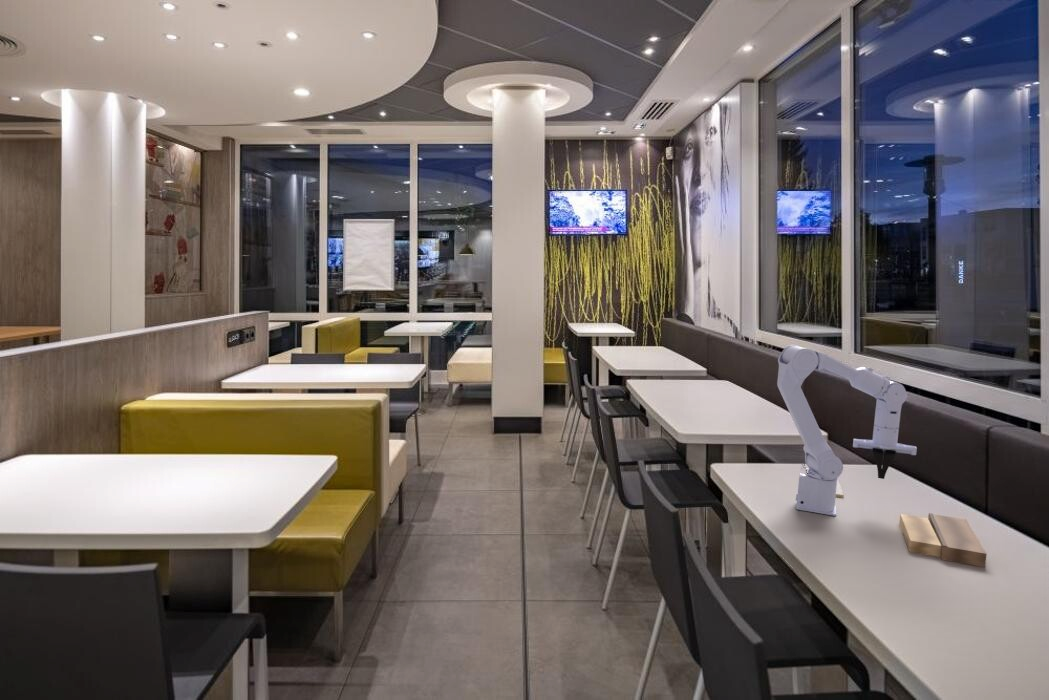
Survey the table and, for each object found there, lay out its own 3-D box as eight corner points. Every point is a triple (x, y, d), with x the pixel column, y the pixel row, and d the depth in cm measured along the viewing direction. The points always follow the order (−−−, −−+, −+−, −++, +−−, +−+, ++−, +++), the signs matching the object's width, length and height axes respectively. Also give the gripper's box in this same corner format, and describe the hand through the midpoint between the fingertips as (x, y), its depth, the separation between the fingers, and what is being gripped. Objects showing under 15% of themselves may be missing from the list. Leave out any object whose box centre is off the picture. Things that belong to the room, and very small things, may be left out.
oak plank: (909, 553, 152) (910, 540, 151) (899, 525, 170) (900, 513, 170) (940, 558, 149) (941, 545, 149) (926, 529, 168) (927, 518, 167)
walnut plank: (941, 559, 148) (943, 545, 147) (927, 525, 170) (928, 512, 169) (984, 567, 145) (986, 553, 144) (964, 531, 166) (966, 518, 166)
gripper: (855, 425, 175) (850, 476, 176) (920, 433, 169) (914, 486, 170) (854, 421, 181) (850, 470, 182) (916, 428, 175) (911, 479, 176)
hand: (880, 477), depth 177 cm, fingers closed
